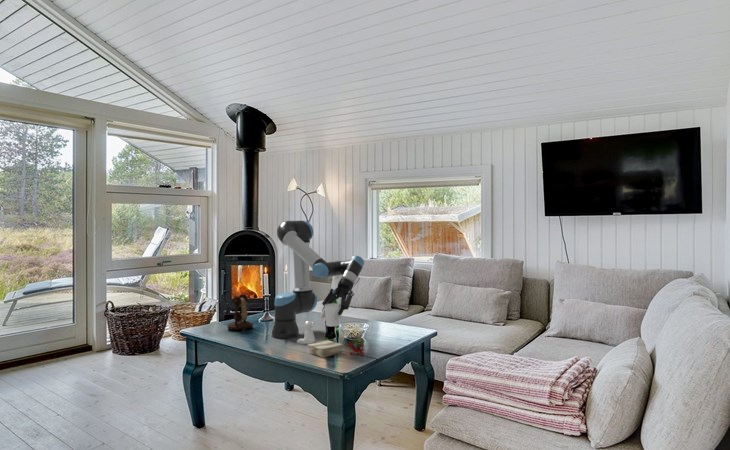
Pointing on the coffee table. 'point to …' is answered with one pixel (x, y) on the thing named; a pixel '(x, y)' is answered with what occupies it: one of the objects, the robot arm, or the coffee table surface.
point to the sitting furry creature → (307, 334)
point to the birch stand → (324, 348)
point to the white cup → (331, 314)
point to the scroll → (240, 314)
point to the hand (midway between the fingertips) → (328, 319)
